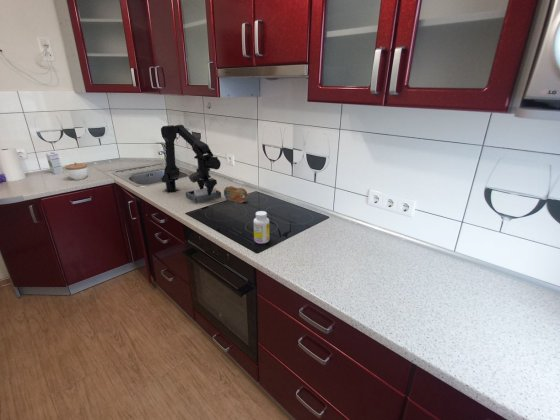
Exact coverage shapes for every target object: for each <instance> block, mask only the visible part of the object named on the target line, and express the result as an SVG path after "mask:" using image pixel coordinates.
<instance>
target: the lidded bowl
mask: <svg viewBox="0 0 560 420" xmlns="http://www.w3.org/2000/svg"><path fill="white" fill-rule="evenodd" d="M64 168H65V172H66V173H67V176H69V178H71V179H72V180H74V181H80V180H83V179H86V177H87V176H88V174H89V173H88V172H89V171H88V170H89V169H88V165H87V163H82V162H81V163H77V162H74V163H72V164H68V165H65V167H64Z"/></svg>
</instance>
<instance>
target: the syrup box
mask: <svg viewBox="0 0 560 420" xmlns="http://www.w3.org/2000/svg"><path fill="white" fill-rule="evenodd" d="M45 155H46V160H47V162H48V166H49V169H50V173H51V174H54V175H58V174H63V173H64V170H63V166H62V163H61V159H60V157H59V153H57V152H54V151H53V152H47V153H45Z"/></svg>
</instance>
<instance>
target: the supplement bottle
mask: <svg viewBox="0 0 560 420" xmlns="http://www.w3.org/2000/svg"><path fill="white" fill-rule="evenodd" d="M267 216H268V213H267V211H264V210H258V211H256V212H255V218H253V241H254V242H255V243H257V244H266V243H268V242H270V219H269V218H268V217H267Z"/></svg>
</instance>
